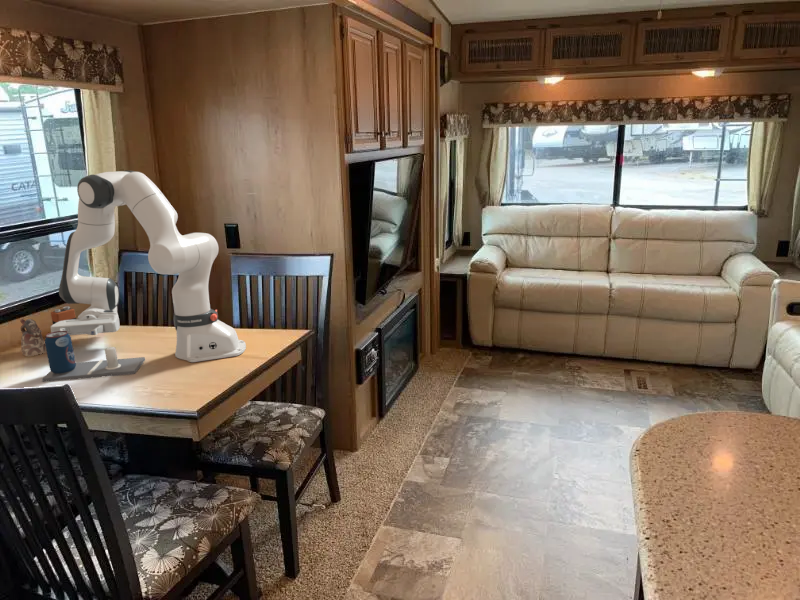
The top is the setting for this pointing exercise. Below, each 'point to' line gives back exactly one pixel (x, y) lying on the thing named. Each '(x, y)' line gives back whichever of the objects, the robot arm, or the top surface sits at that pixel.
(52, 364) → the soda can
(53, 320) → the battery
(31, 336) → the figurine
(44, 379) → the board
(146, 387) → the top surface
